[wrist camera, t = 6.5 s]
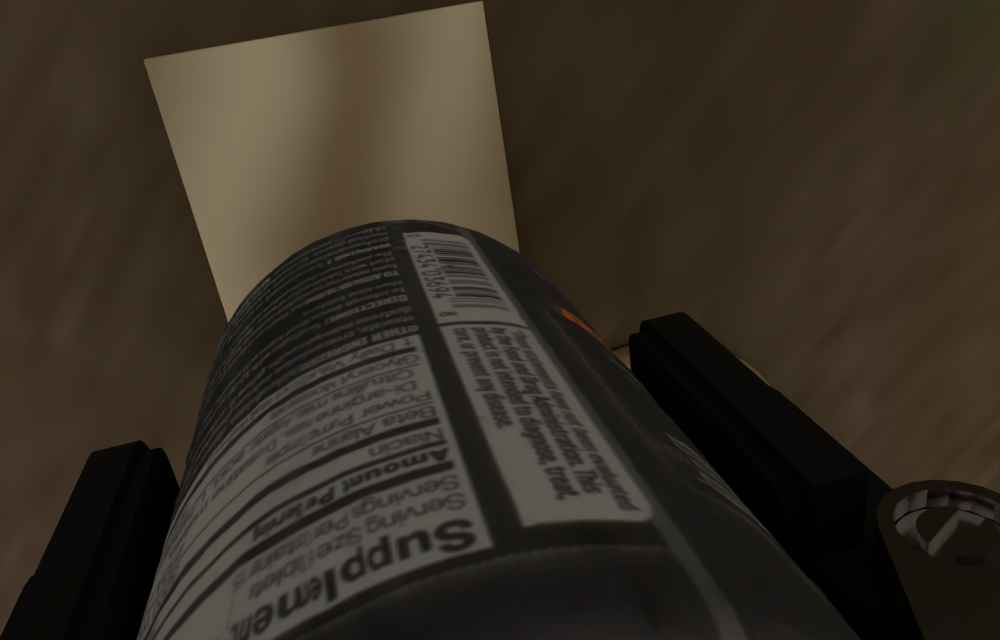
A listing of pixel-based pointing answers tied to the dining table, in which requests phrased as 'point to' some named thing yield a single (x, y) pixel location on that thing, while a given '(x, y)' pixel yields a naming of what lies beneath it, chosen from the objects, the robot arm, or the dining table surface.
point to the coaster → (335, 136)
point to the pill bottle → (451, 470)
